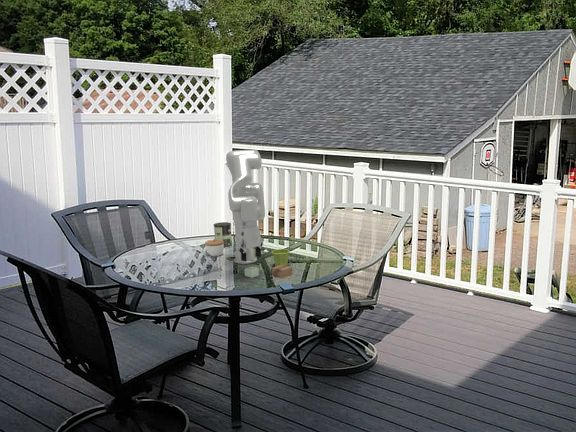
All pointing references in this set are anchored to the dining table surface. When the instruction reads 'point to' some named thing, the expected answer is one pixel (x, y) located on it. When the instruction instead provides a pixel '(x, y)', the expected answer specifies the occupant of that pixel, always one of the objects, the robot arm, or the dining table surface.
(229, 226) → the coffee can
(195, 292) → the dining table surface
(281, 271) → the walnut base block
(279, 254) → the plant pot
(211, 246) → the lidded jar
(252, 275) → the sage cube
